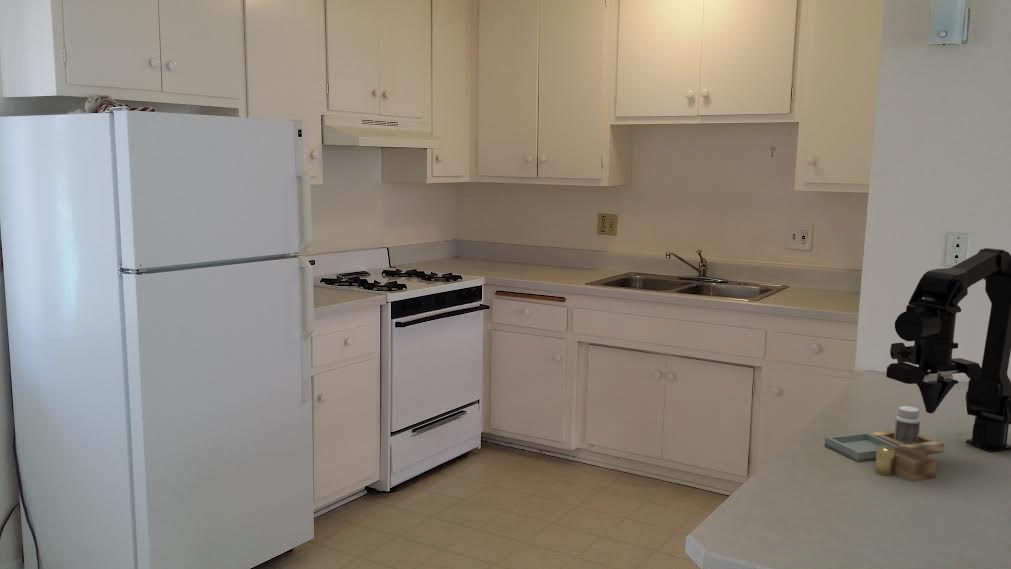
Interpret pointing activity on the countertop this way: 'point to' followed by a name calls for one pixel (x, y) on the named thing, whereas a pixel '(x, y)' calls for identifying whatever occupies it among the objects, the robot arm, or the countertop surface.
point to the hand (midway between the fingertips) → (929, 412)
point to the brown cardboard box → (913, 464)
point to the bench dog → (884, 460)
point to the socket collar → (923, 445)
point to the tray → (856, 445)
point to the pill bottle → (907, 425)
